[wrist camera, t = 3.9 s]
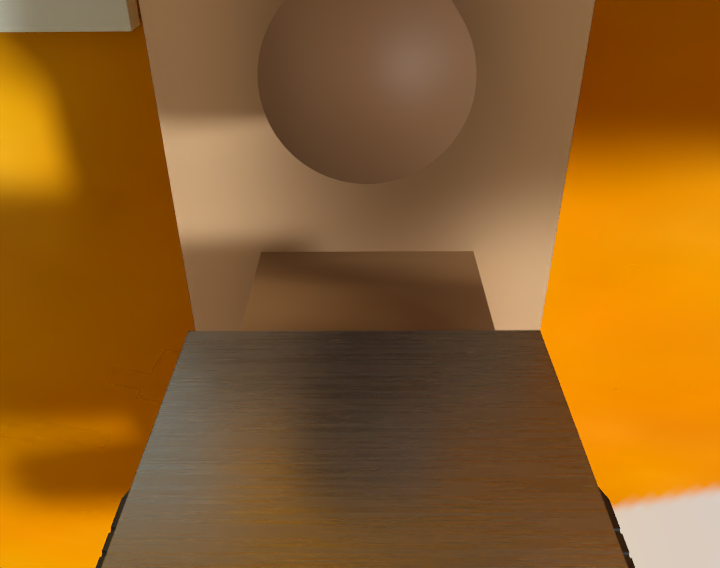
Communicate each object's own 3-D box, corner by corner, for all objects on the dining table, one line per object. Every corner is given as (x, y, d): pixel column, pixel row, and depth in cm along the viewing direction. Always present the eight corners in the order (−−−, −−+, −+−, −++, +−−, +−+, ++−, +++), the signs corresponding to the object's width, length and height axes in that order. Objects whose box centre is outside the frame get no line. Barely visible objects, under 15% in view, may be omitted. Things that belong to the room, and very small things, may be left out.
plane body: (253, 487, 21) (187, 856, 13) (170, -123, 12) (-165, -90, 4) (482, 487, 21) (551, 858, 13) (562, -126, 12) (908, -101, 4)
